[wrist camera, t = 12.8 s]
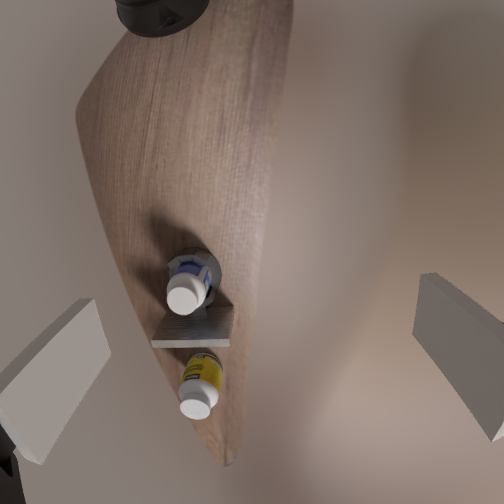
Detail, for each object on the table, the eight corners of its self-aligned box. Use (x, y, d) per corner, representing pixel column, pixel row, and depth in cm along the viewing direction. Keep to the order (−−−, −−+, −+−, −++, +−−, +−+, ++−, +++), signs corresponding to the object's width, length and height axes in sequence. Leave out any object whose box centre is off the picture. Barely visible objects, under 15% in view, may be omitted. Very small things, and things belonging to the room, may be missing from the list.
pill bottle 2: (214, 347, 52) (205, 391, 40) (228, 374, 53) (222, 419, 42) (181, 355, 52) (166, 398, 41) (196, 381, 54) (185, 425, 43)
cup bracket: (157, 250, 47) (134, 272, 37) (226, 244, 46) (219, 266, 37) (169, 315, 50) (152, 347, 40) (234, 312, 50) (229, 346, 40)
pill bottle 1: (171, 272, 47) (152, 298, 38) (194, 250, 46) (179, 272, 37) (195, 297, 48) (182, 327, 39) (219, 276, 47) (210, 303, 38)
